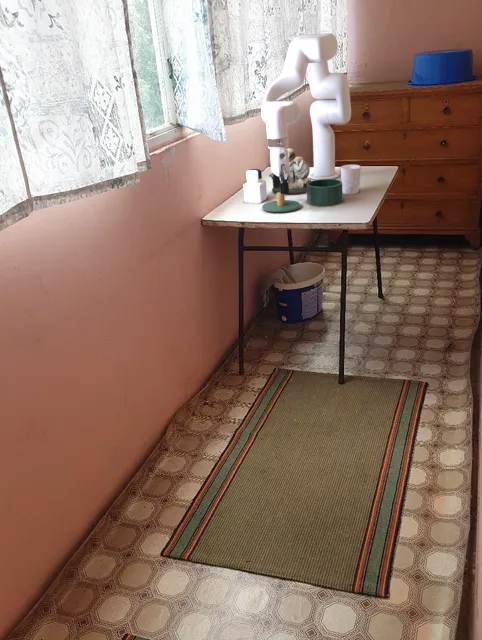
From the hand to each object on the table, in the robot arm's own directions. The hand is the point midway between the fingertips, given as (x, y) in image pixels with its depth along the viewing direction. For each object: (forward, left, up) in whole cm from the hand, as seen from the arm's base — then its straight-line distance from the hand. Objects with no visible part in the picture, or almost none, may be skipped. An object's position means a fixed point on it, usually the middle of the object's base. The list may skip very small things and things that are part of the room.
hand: (280, 190), depth 229 cm
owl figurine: (-23, +11, -7) cm, 26 cm away
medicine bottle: (-16, -6, -7) cm, 18 cm away
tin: (-1, +18, -7) cm, 19 cm away
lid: (0, 0, -6) cm, 6 cm away
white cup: (-9, +32, -7) cm, 34 cm away
